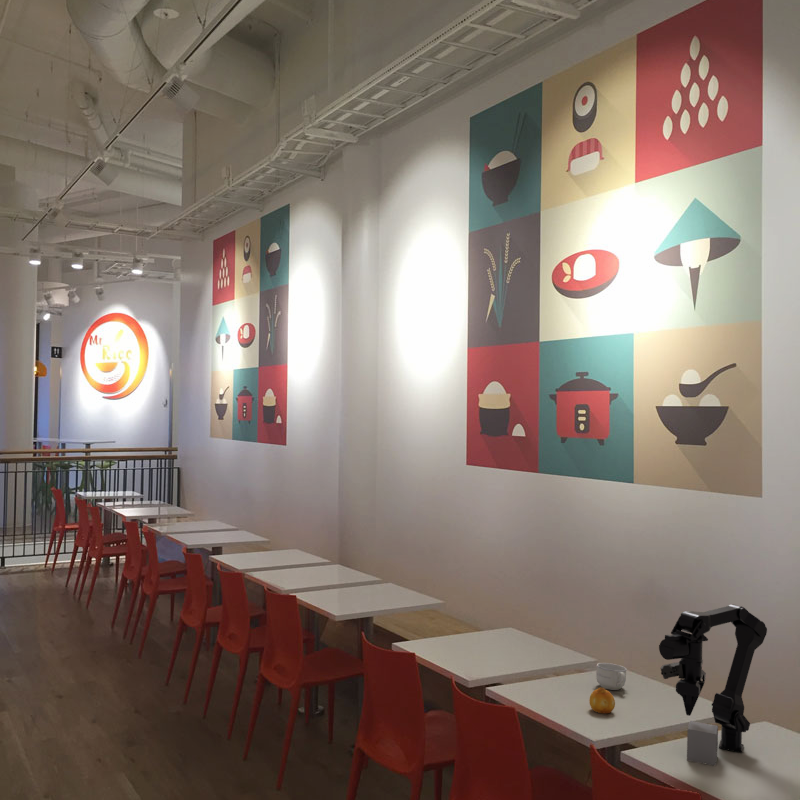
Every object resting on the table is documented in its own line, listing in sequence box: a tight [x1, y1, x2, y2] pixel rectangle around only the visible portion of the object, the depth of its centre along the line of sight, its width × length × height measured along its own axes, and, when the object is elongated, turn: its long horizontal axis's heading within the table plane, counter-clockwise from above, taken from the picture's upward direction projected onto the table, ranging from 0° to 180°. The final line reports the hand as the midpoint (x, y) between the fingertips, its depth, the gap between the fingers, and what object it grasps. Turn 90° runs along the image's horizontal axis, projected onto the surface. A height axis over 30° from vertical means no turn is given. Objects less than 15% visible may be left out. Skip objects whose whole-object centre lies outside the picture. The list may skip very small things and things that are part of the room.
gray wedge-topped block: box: [686, 720, 719, 766], centre depth 229 cm, size 8×8×9 cm
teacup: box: [595, 662, 628, 691], centre depth 290 cm, size 14×11×8 cm
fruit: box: [588, 687, 616, 714], centre depth 266 cm, size 8×8×8 cm
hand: (690, 710), depth 231 cm, fingers open, 9 cm apart
